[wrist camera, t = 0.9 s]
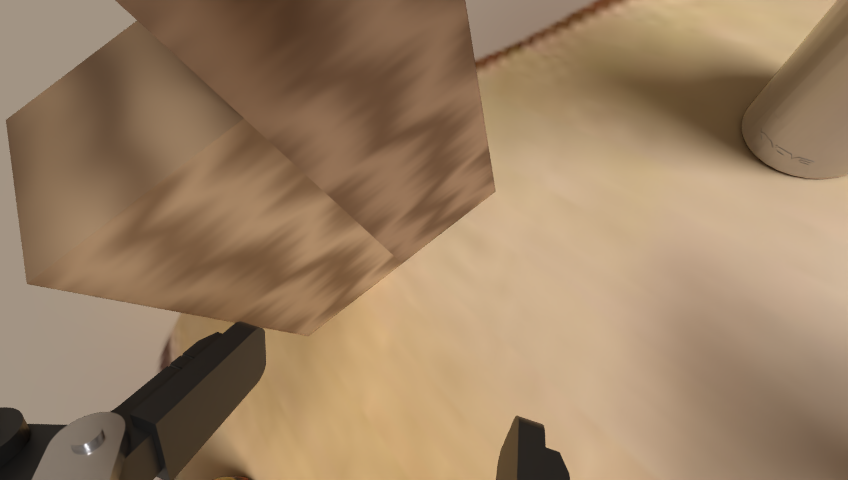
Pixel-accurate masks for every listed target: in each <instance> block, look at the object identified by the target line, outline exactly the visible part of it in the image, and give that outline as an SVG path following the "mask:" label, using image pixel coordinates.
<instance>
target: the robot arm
mask: <svg viewBox="0 0 848 480" xmlns="http://www.w3.org/2000/svg"><path fill="white" fill-rule="evenodd" d="M741 128H742V133H743V138H744V140H745V142H746V144H747V146H748V147H749V149H750V150H751V151H752V152H753V153H754V155H755V156H757V157H758V158H759V159H760V160H762V161H763V162H764V163H765V164H767V165H769V166H771V167H773V168H775V169H776V170H779V171H781V172H784V173H787V174H790V175H793V176H798V177H803V178H813V179H827V178H838V177H841V176H845V175H848V0H837V1H836V2H835V3H834V5H833V6H832V7H831V8H830V10H829V11H828V12H827V13H826V14H825V16H824V17H823V18H822V19H821V20H820V22H819V23H818V24H817V25H816V26H815V28H814V29H813V30H812V31H811V32H810V34H809V35H808V36H807V37H806V38H805V40H804V41H803V42H802V43H801V44H800V46H799V47H798V48H797V49H796V50H795V52H794V53H793V54H792V55H791V56H790V58H789V59H788V60H787V61H786V62H785V64H784V65H783V66H782V67H781V68H780V70H779V71H778V72H777V73H776V74H775V75H774V77H773V78H772V79H771V80H770V82H769V83H768V84H767V85H766V86H765V88H764V89H763V90H762V91H761V93H760V94H759V95H758V96H757V97H756V99H755V100H754V101H753V102H752V104H751V105H750V106H749V107H748V108H747V110H746V112H745V114H744V116H743V119H742V127H741ZM265 366H266V350H265V331H264V329H262V328H260V327H257V326H254V325H251V324H248V323H245V322H242V321H239V322H237V323H235V324H234V325H233V326H231V327H230V328H229V329H228V330H227V331H226V332H224V333H223V334H222V333H219V332H217V333H214V334H212V335H210V336H208V337H206V338H204V339H201V340H199V341H198V342H196V343H195V344H194V345H193V346H192V347H190V348H189V349H188V350H187V351H185V352H184V353H183V355H182V356H179V357H178V358H177V359H176V360H174V361H173V362H172V363H171V364H170V366H169V367H168V366H167V367H166V368H165V369H163V370H162V371H161V372H160V373H158V374H157V375H156V376H155V377H154V378H152V379H151V380H150V381H149V382H147V383H146V384H145V385H144V386H143V387H141V388H140V389H139V390H138V391H136V392H135V393H134V394H133V395H132V396H130V397H129V398H128V399H127V400H125V401H124V402H123V403H122V404H121V405H119V406H118V407H117V408H115V409H114V410H112V411H111V412H99V413H94V414H90V415H88V416H84V417H82V418H80V419H77V420H76V421H74V422H72V423H70V424H69V425H49V424H48V425H47V424H27V423H26V421H25V420H24V417H23V415H22V414H21V412H20V411H19V410H16V409H14V408H0V480H153V479H154V478H155V477H159V478H161V479H163V480H173V479H174V478H175V477H176V476H177V475H178V473H179V472H180V471H181V470H182V469H183V468H184V467H185V465H186V464H187V463H188V462H189V461H190V460H191V458H192V457H193V456H194V455H195V454H196V453H197V452H198V450H199V449H200V448H201V447H202V446H203V445H204V444H205V442H206V441H207V440H208V439H209V438H210V437H211V436H212V434H213V433H214V432H215V431H216V430H217V429H218V427H219V426H220V425H221V424H222V423H223V422H224V421H225V419H226V418H227V417H228V416H229V415H230V414H231V413H232V411H233V410H234V409H235V408H236V407H237V406H238V405H239V403H240V402H241V401H242V400H243V399H244V398H245V396H246V395H247V394H248V393H249V392H250V391H251V390H252V388H253V387H254V386H255V385H256V384H257V383H258V381H259V380H260V378H261V377H262V375H263V372H264V370H265ZM496 480H570V476H569V472H568V470H567V468H566V466H565V463H564V461H563V459H562V457H561V455H560V452H557V451H554V450H551V449H549V448H546V447H545V429H544V426H543V424H540V423H537V422H534V421H531V420H528V419H525V418H522V417H519V416H516V417H515V419H514V421H513V423H512V425H511V428H510V430H509V432H508V435H507V437H506V439H505V442H504V444H503V446H502V449H501V452H500V456H499V460H498V466H497V475H496Z"/></svg>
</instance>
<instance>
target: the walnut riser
mask: <svg viewBox="0 0 848 480" xmlns="http://www.w3.org/2000/svg"><path fill="white" fill-rule="evenodd" d="M116 1H117V2H118V3H119V4H120V5H121V6H122V7H123V8H124V9H125V10H127V11H128V12H129V13H130V14H131V15H132V16H133V17H134V18H135V19H136V20H137V21H136V22H135V23H133V24H132V25H131V26H129V27H128V28H127V29H126V30H124V31H123V32H121V33H120V34H119V35H117V36H116V37H115V38H113V39H112V40H111V41H109V42H108V43H107V44H105V45H104V46H103V47H102V48H100V49H99V50H98V51H96V52H95V53H94V54H92V55H91V56H90V57H88V58H87V59H86V60H84V61H83V62H82V63H80V64H79V65H78V66H76V67H75V68H74V69H73V70H72V71H70V72H69V73H67V74H66V75H65V76H63V77H62V78H61V79H59V80H58V81H57V82H55V83H54V84H53V85H52V86H50V87H49V88H48V89H46V90H45V91H44V92H42V93H41V94H40V95H38V96H37V97H36V98H35V99H33V100H32V101H30V102H29V103H28V104H26V105H25V106H24V107H22V108H21V109H20V110H18V111H17V112H16V113H15V114H13V115H12V116H11V117H9V118H8V119H7V120H6V124H7V132H8V139H9V148H10V155H11V163H12V170H13V178H14V186H15V195H16V202H17V210H18V218H19V226H20V233H21V242H22V249H23V257H24V265H25V273H26V280H27V284H30V285H36V286H41V287H46V288H51V289H57V290H62V291H68V292H73V293H78V294H84V295H89V296H95V297H100V298H106V299H111V300H116V301H122V302H128V303H133V304H138V305H144V306H149V307H154V308H160V309H165V310H171V311H176V312H181V313H187V314H192V315H197V316H203V317H208V318H214V319H219V320H225V321H230V322H235V323H237V322H239V321H242V322H245V323H248V324H251V325H254V326H257V327H262V328H268V329H273V330H279V331H284V332H289V333H295V334H300V335H306V336H309V335H310V334H311V333H313V332H314V331H315V330H317V329H318V328H319V327H320V326H322V325H323V324H324V323H326V322H327V321H328V320H330V319H331V318H332V317H333V316H335V315H336V314H337V313H339V312H340V311H341V310H342V309H344V308H345V307H346V306H348V305H349V304H350V303H352V302H353V301H354V300H355V299H357V298H358V297H359V296H361V295H362V294H363V293H364V292H366V291H367V290H368V289H370V288H371V287H372V286H374V285H375V284H376V283H377V282H379V281H380V280H381V279H383V278H384V277H385V276H386V275H388V274H389V273H390V272H392V271H393V270H394V269H396V268H397V267H398V266H399V265H401V264H402V263H403V262H405V261H406V260H407V259H408V258H410V257H411V256H412V255H414V254H415V253H416V252H418V251H419V250H420V249H421V248H423V247H424V246H425V245H427V244H428V243H429V242H430V241H432V240H433V239H434V238H436V237H437V236H438V235H440V234H441V233H442V232H443V231H445V230H446V229H447V228H449V227H450V226H451V225H453V224H454V223H455V222H456V221H458V220H459V219H460V218H462V217H463V216H464V215H465V214H467V213H468V212H469V211H471V210H472V209H473V208H475V207H476V206H477V205H478V204H480V203H481V202H482V201H484V200H485V199H486V198H487V197H489V196H490V195H491V194H493V193H494V192H495V185H494V179H493V172H492V166H491V160H490V153H489V147H488V141H487V135H486V128H485V122H484V116H483V109H482V103H481V97H480V91H479V84H478V78H477V72H476V65H475V59H474V53H473V47H472V40H471V34H470V28H469V22H468V15H467V9H466V2H465V0H116Z"/></svg>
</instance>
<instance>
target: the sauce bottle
mask: <svg viewBox="0 0 848 480" xmlns="http://www.w3.org/2000/svg"><path fill="white" fill-rule="evenodd" d="M213 480H249V479H248V478H247V477H240V476H239V477H235V476H233V477H220V478H217V479H213Z"/></svg>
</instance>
